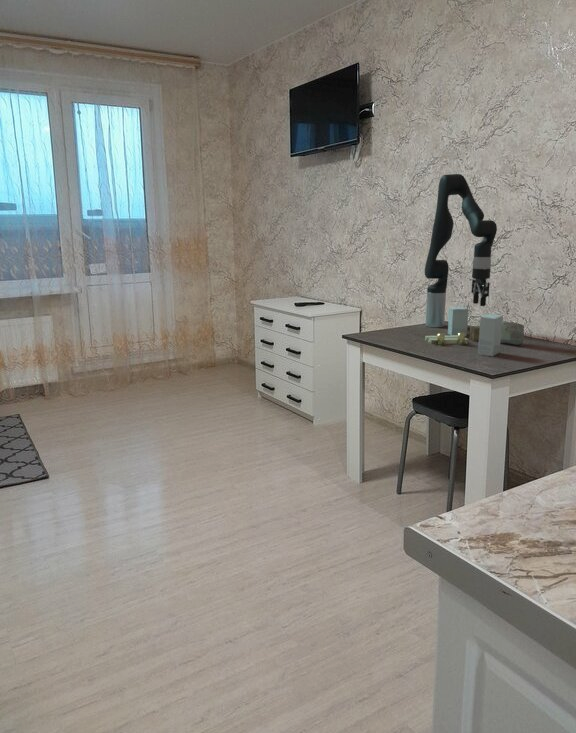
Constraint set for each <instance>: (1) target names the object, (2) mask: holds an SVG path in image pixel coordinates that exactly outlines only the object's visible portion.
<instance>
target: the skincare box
mask: <svg viewBox="0 0 576 733" xmlns="http://www.w3.org/2000/svg"><path fill="white" fill-rule="evenodd" d="M503 316H504V315H502V314H493V313H486V314H484V315H482V316H480V321H479V326H480V332H479V341H478V345H477V346H478V347H477V355H478V356H479V355H480V356H487V357H495V356H496V355H498V354H499V353H500V350H501V330H502V321H503V318H504V317H503Z"/></svg>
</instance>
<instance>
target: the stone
mask: <svg viewBox="0 0 576 733" xmlns="http://www.w3.org/2000/svg"><path fill="white" fill-rule="evenodd" d="M524 330H525V325H523V324H521V323H517V322H510V321H506V320H502V330H501V342H500V344H501V343H502V344H512V345H514V346H519V345H522V344H523V343H524V340H525V338H524V337H525V336H524V335H525V334H524V332H525V331H524Z"/></svg>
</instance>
